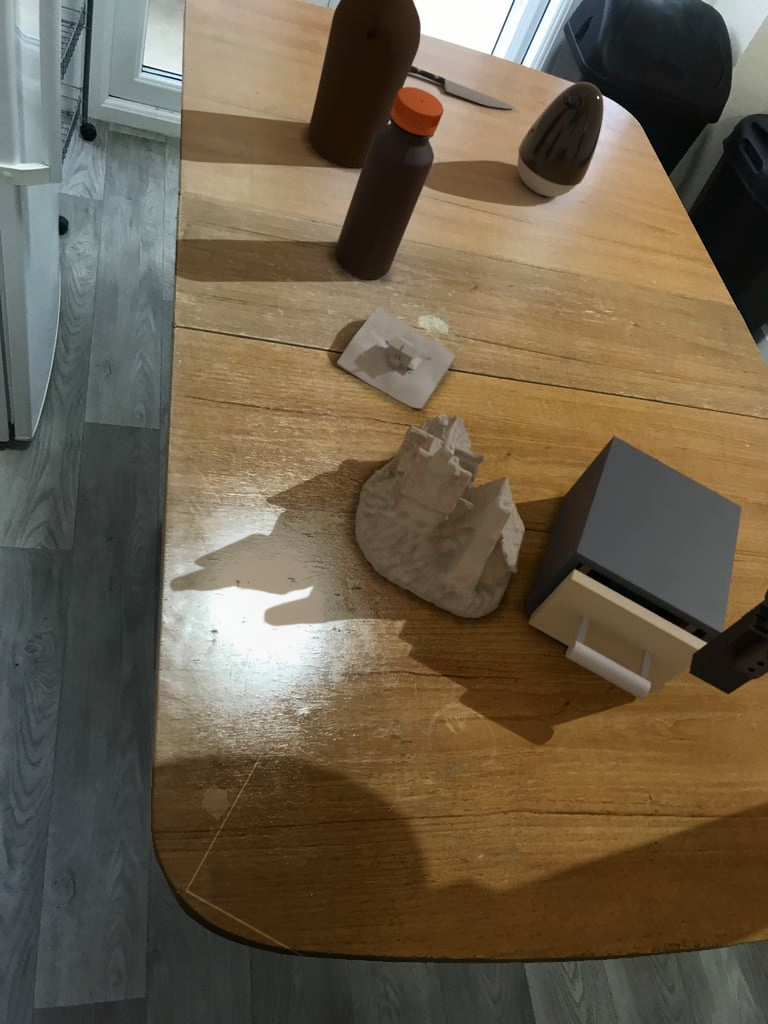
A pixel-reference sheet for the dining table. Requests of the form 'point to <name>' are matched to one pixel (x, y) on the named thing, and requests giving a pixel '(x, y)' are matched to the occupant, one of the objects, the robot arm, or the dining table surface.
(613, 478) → the cabinet
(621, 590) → the block
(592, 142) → the two-tone egg figure
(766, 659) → the robot arm
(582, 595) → the drawer
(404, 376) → the grey tile
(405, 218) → the bottle
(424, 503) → the castle ruin model
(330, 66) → the olive oil
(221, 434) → the dining table surface
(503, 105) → the chef's knife
